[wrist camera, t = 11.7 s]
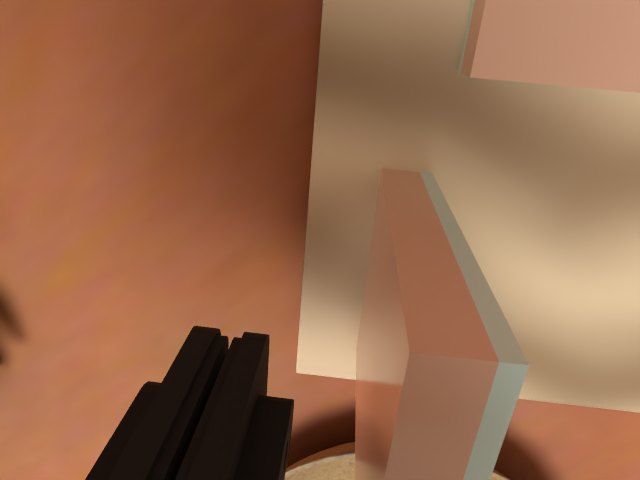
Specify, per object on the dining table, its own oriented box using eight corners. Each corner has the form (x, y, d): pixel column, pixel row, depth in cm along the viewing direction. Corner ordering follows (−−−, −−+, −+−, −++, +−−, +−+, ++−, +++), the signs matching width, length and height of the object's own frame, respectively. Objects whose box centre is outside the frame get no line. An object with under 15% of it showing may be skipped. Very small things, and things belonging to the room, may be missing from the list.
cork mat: (350, -355, 10) (350, -376, 10) (1017, -317, 10) (1057, -339, 9) (297, 362, 19) (296, 372, 18) (651, 403, 18) (660, 415, 18)
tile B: (381, 168, 14) (410, 351, 6) (432, 173, 14) (529, 365, 6) (356, 348, 17) (353, 632, 9) (398, 353, 17) (434, 643, 9)
